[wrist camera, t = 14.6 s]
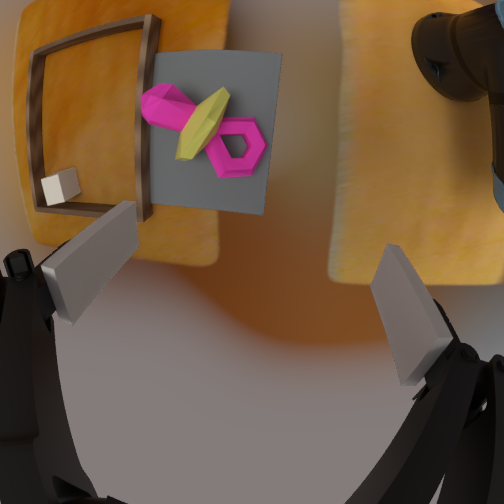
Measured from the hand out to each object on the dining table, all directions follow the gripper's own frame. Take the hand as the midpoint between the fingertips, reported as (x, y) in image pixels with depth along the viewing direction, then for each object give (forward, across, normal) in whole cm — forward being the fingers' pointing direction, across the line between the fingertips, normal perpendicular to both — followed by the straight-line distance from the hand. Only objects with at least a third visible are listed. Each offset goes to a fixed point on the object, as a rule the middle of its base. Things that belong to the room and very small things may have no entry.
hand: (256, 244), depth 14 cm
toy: (+27, -10, +3) cm, 29 cm away
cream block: (+26, -37, -7) cm, 46 cm away
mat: (+27, -10, +2) cm, 29 cm away
